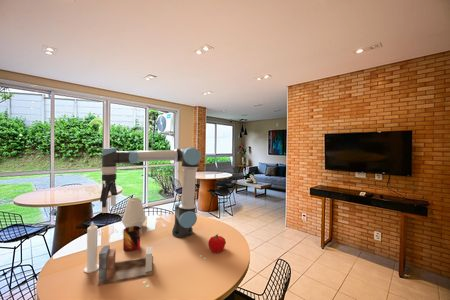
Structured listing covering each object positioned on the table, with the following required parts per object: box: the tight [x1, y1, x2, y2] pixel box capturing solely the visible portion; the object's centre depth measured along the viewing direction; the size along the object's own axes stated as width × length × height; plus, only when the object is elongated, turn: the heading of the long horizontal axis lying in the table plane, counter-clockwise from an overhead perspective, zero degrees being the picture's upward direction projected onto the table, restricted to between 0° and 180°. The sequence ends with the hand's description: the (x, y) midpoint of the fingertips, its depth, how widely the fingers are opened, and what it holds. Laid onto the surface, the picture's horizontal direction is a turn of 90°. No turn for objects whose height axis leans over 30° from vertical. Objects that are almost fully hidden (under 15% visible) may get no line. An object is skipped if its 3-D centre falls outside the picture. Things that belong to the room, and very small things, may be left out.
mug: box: [122, 226, 141, 252], centre depth 127 cm, size 10×14×12 cm
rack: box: [97, 244, 154, 287], centre depth 101 cm, size 24×11×14 cm, turn 110°
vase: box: [121, 197, 147, 229], centre depth 159 cm, size 18×17×23 cm
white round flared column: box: [83, 221, 99, 274], centre depth 105 cm, size 7×7×25 cm
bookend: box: [145, 246, 153, 272], centre depth 105 cm, size 3×8×9 cm, turn 20°
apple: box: [207, 234, 226, 254], centre depth 126 cm, size 11×11×10 cm
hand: (109, 209), depth 120 cm, fingers open, 13 cm apart
